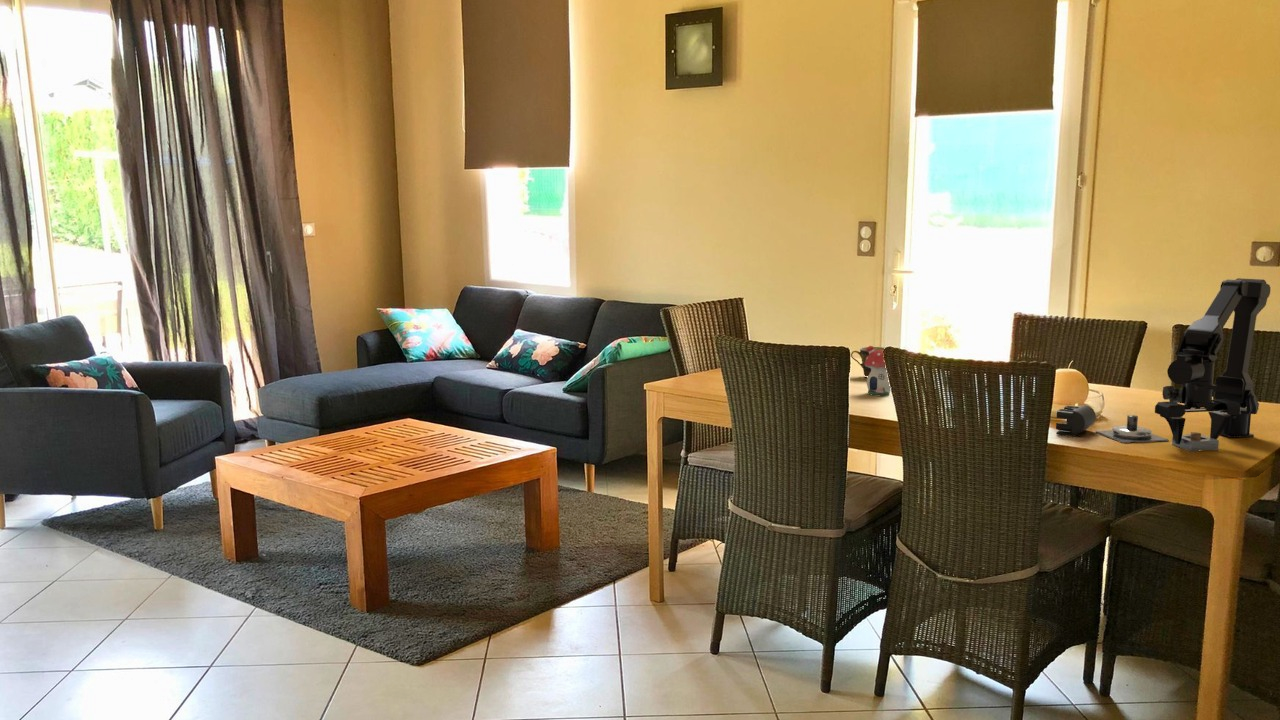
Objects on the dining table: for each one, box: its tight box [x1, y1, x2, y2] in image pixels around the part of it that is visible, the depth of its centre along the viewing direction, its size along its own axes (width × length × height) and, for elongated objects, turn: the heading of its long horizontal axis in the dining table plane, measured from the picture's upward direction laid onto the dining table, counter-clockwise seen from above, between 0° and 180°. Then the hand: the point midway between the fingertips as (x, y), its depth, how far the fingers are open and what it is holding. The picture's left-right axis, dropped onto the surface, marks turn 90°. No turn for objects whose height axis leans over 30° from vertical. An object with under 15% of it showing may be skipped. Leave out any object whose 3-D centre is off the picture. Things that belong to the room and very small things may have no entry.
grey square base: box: [1171, 433, 1220, 452], centre depth 245 cm, size 7×7×2 cm
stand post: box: [1190, 431, 1202, 440], centre depth 245 cm, size 2×2×4 cm
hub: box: [1095, 414, 1170, 444], centre depth 257 cm, size 12×12×5 cm
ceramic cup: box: [850, 346, 885, 376], centre depth 347 cm, size 13×10×10 cm
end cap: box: [1055, 404, 1097, 437], centre depth 262 cm, size 10×7×7 cm
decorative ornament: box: [865, 345, 891, 396], centre depth 317 cm, size 9×7×15 cm
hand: (1195, 443), depth 245 cm, fingers open, 9 cm apart
